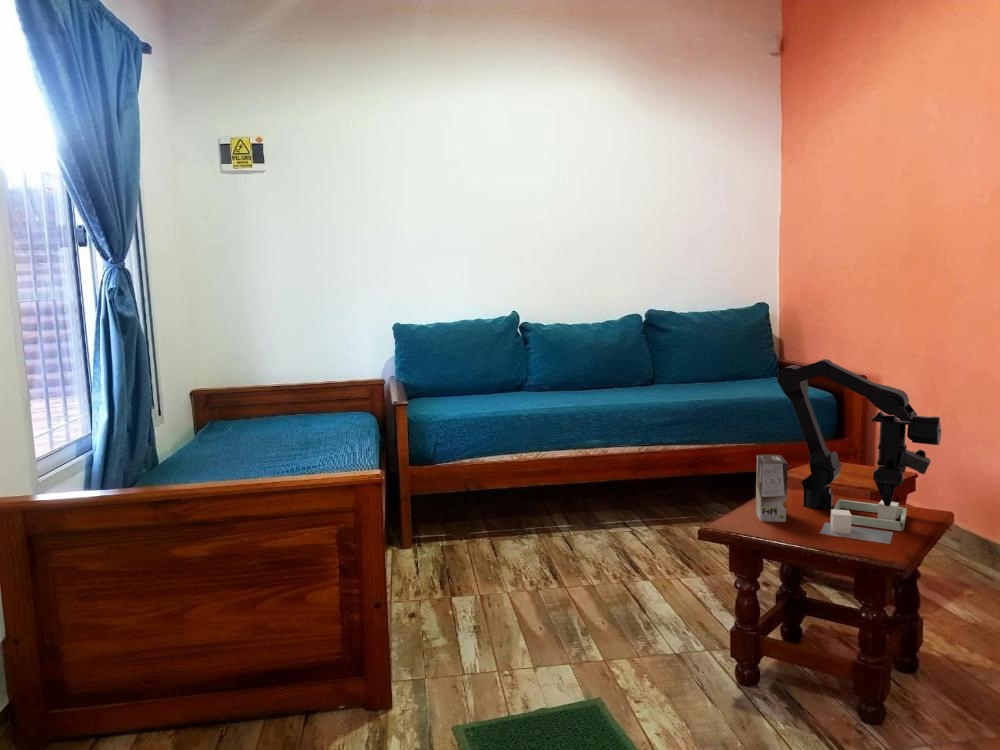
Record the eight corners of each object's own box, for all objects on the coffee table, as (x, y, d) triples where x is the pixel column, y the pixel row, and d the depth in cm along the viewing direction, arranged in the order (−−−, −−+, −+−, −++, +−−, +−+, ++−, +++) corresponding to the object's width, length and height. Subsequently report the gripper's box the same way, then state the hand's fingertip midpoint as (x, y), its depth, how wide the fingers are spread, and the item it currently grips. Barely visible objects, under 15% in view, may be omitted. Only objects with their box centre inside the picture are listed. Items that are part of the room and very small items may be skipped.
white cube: (832, 532, 181) (833, 514, 180) (830, 527, 185) (831, 509, 184) (850, 533, 180) (851, 515, 179) (848, 528, 184) (848, 510, 183)
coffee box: (786, 525, 189) (789, 463, 187) (760, 524, 190) (762, 462, 188) (779, 514, 198) (781, 454, 196) (754, 513, 199) (755, 453, 197)
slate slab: (819, 537, 181) (819, 533, 180) (825, 526, 188) (825, 522, 188) (889, 548, 173) (890, 543, 173) (892, 536, 180) (893, 532, 180)
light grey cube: (877, 519, 191) (878, 503, 190) (880, 516, 193) (881, 500, 193) (895, 522, 188) (896, 506, 188) (897, 518, 191) (898, 502, 190)
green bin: (830, 524, 189) (831, 513, 189) (837, 510, 200) (838, 499, 200) (902, 535, 181) (903, 523, 181) (906, 519, 192) (906, 508, 192)
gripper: (927, 451, 176) (924, 516, 178) (930, 436, 192) (926, 495, 194) (874, 446, 182) (871, 509, 184) (881, 432, 197) (878, 490, 200)
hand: (888, 501), depth 190 cm, fingers open, 9 cm apart
